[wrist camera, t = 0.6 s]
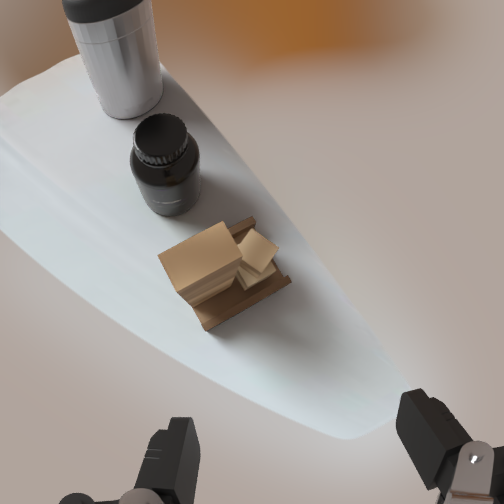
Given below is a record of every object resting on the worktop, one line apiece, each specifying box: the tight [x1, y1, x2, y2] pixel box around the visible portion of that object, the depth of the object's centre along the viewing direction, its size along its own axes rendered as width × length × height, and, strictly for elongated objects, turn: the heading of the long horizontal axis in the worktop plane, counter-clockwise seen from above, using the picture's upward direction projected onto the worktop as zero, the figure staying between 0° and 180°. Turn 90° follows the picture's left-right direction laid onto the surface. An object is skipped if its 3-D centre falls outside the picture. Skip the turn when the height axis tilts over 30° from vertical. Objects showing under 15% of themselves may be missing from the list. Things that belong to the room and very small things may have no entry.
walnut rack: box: [192, 216, 291, 331], centre depth 34 cm, size 8×10×3 cm
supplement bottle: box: [130, 113, 200, 216], centre depth 31 cm, size 7×7×12 cm
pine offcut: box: [236, 244, 276, 291], centre depth 33 cm, size 4×3×4 cm
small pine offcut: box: [238, 228, 279, 278], centre depth 30 cm, size 3×3×3 cm
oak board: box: [158, 221, 243, 308], centre depth 27 cm, size 2×4×15 cm, turn 120°
